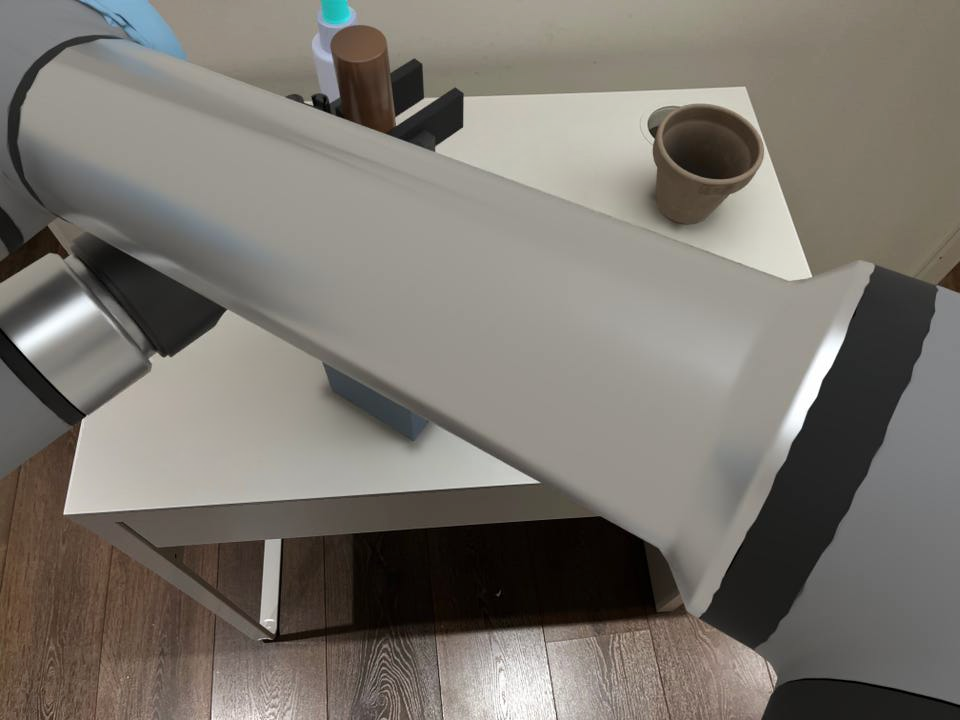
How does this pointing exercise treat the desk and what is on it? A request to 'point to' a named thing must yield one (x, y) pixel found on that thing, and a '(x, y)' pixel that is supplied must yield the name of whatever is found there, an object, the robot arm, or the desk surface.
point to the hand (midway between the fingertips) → (438, 93)
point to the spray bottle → (329, 23)
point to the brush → (364, 77)
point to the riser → (376, 403)
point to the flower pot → (703, 160)
